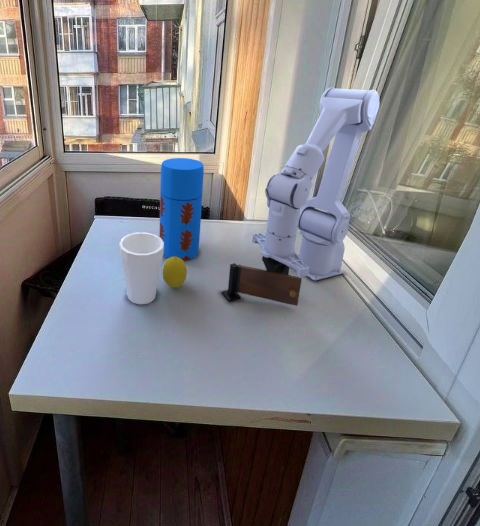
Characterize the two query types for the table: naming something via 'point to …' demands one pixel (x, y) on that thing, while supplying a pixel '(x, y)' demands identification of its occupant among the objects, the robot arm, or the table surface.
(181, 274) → the lemon
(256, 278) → the door
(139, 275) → the foam cup
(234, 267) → the door frame
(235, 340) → the table surface
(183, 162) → the thermos
